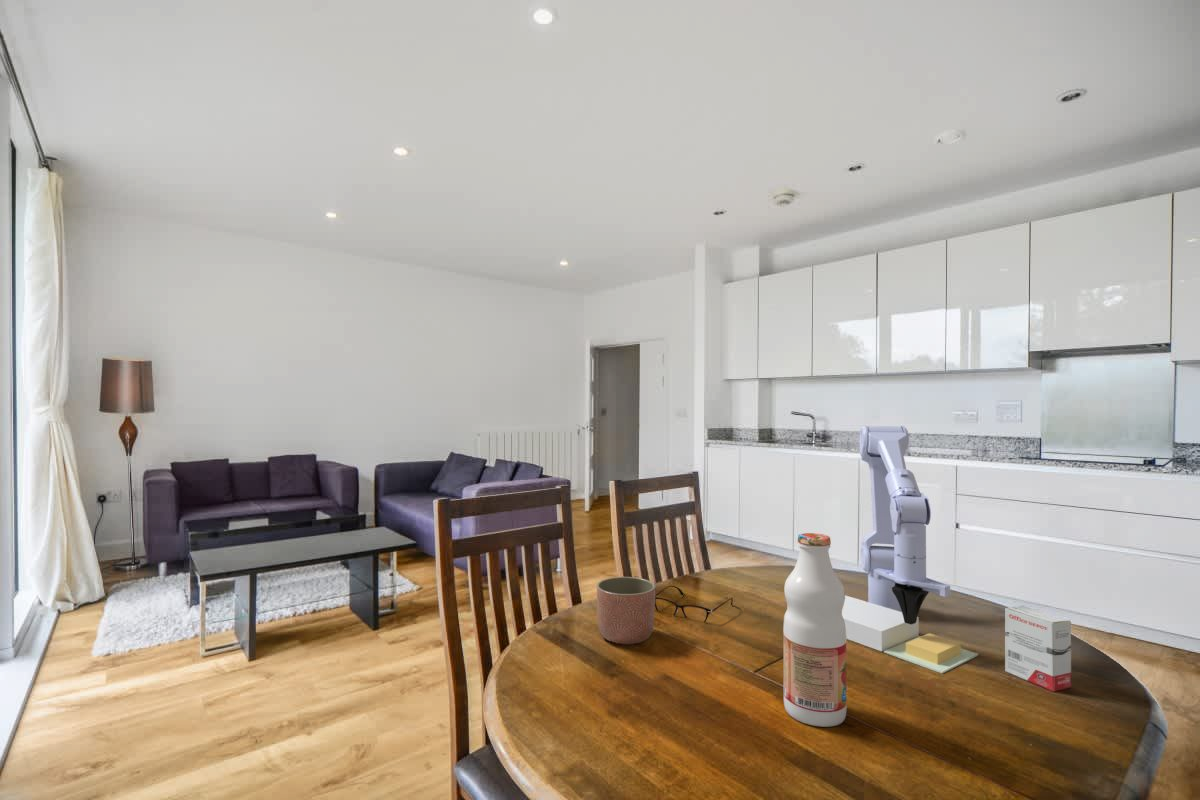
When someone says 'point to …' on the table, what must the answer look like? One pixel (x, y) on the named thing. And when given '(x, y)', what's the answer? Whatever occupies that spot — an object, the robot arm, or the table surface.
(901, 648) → the mat
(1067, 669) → the ink box
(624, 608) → the planter
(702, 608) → the eyeglasses
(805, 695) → the fruit juice
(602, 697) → the table surface
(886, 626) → the white box
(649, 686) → the table surface
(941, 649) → the yellow rectangular block
